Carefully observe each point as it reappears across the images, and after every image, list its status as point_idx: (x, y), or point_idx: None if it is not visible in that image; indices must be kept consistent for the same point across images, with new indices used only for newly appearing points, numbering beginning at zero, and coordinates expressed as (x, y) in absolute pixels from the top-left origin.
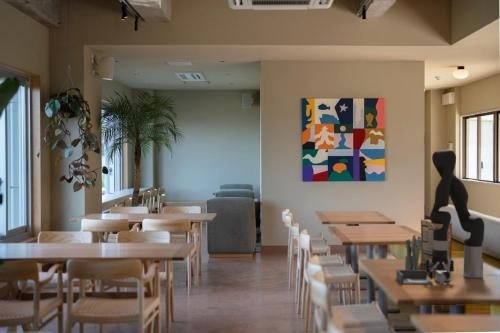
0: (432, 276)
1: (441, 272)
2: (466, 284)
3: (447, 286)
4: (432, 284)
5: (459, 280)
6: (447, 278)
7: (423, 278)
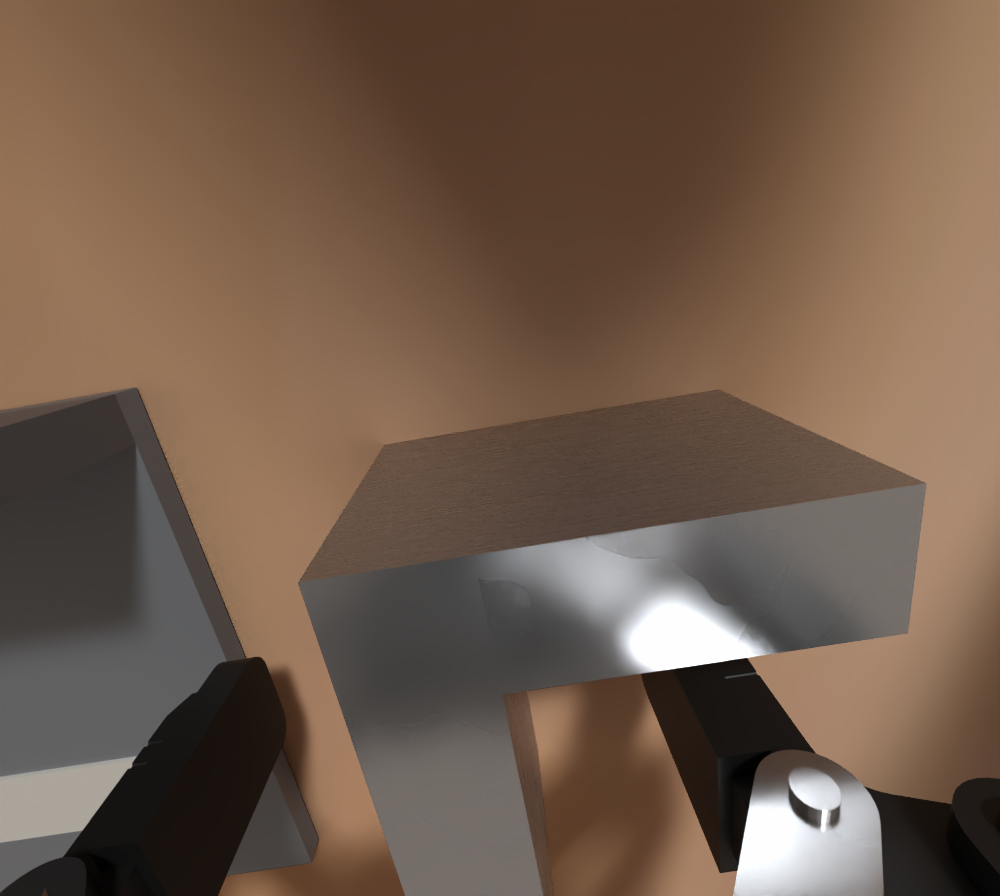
0: (254, 799)
1: (515, 825)
2: (965, 690)
3: (565, 873)
4: (313, 843)
5: (979, 375)
6: (653, 699)
7: (62, 514)
